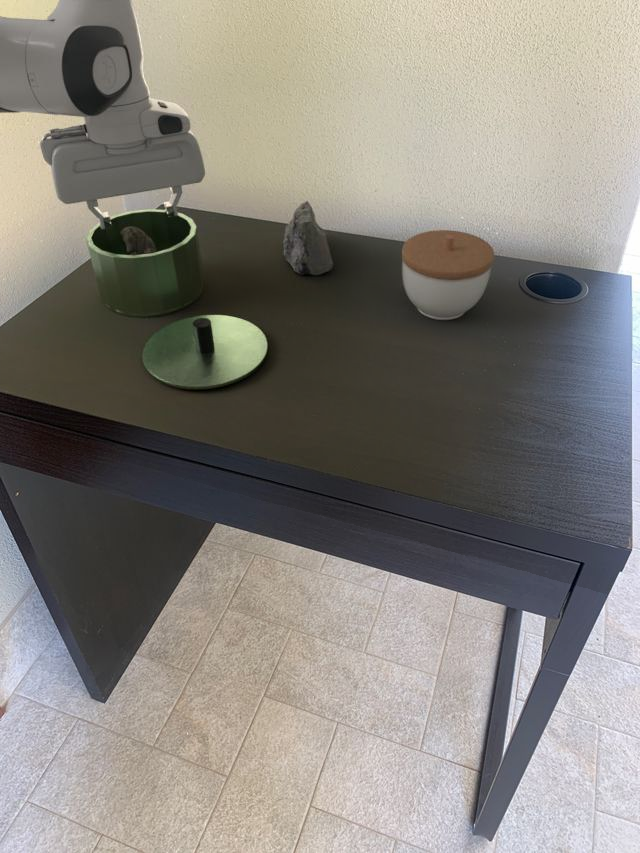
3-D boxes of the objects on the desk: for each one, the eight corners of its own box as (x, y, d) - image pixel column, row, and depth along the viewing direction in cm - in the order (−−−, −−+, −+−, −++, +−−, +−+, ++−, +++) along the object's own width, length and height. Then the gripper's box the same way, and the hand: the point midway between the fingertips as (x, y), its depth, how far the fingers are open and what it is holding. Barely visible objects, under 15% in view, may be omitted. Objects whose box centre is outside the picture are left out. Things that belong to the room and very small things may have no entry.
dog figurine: (128, 287, 106) (128, 241, 107) (165, 288, 106) (165, 241, 107) (110, 262, 94) (110, 210, 95) (152, 262, 94) (152, 210, 95)
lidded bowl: (382, 313, 99) (386, 243, 92) (423, 277, 107) (429, 209, 100) (462, 340, 94) (472, 267, 86) (498, 300, 101) (511, 230, 94)
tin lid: (158, 406, 84) (151, 373, 80) (133, 336, 95) (125, 305, 92) (285, 374, 88) (283, 341, 85) (246, 311, 100) (243, 280, 97)
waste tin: (110, 327, 97) (95, 266, 91) (94, 276, 108) (79, 219, 102) (216, 304, 102) (208, 244, 95) (190, 257, 113) (181, 202, 106)
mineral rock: (295, 236, 118) (292, 178, 112) (353, 245, 115) (355, 187, 109) (263, 270, 109) (259, 209, 103) (326, 281, 106) (326, 220, 100)
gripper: (38, 139, 84) (67, 243, 93) (201, 116, 89) (213, 217, 98) (34, 123, 88) (62, 225, 97) (189, 103, 94) (202, 201, 103)
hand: (139, 221), depth 98 cm, fingers open, 8 cm apart
